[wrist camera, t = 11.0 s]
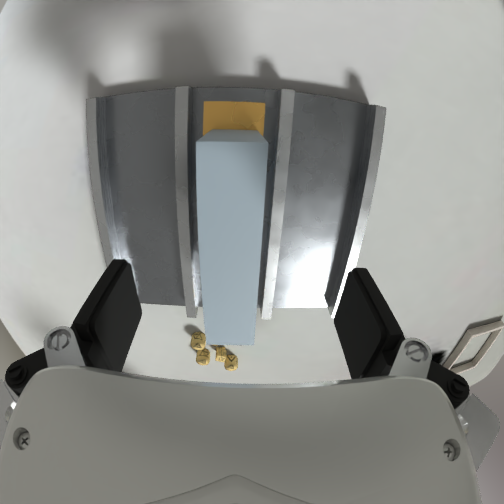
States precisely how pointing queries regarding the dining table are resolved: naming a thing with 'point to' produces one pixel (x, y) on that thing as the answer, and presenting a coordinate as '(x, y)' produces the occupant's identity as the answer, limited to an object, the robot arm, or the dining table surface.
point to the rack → (276, 192)
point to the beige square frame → (470, 333)
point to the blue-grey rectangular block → (230, 231)
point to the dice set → (204, 354)
